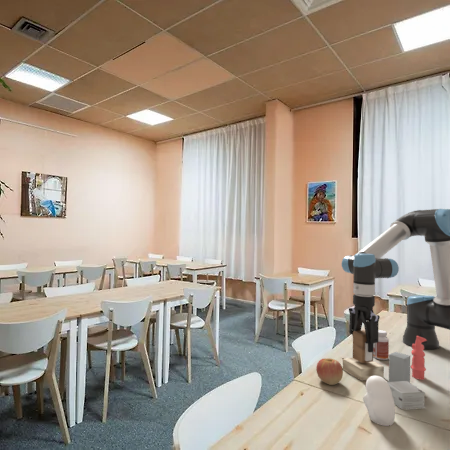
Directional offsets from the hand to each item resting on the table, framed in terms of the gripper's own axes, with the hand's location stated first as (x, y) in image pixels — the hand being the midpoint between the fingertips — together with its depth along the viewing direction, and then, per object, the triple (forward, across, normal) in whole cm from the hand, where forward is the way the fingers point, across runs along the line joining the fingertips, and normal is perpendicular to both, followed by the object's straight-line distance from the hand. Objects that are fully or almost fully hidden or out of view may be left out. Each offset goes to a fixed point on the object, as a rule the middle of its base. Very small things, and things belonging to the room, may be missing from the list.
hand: (362, 357), depth 125 cm
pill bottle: (+6, -11, +19) cm, 23 cm away
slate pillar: (+6, +11, +6) cm, 14 cm away
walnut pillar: (+1, 0, 0) cm, 1 cm away
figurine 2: (+6, +8, +18) cm, 21 cm away
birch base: (+6, 0, 0) cm, 6 cm away
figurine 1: (+6, +27, -18) cm, 33 cm away
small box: (+6, +22, -3) cm, 23 cm away
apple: (+6, +3, -17) cm, 18 cm away
